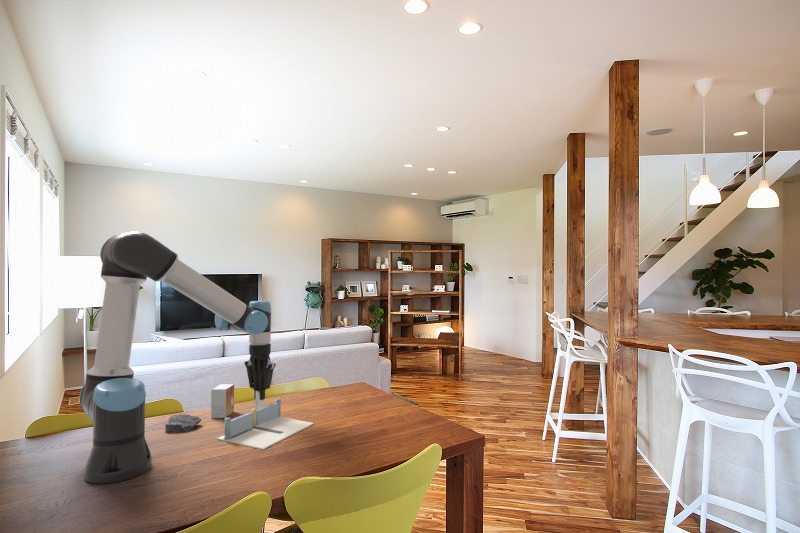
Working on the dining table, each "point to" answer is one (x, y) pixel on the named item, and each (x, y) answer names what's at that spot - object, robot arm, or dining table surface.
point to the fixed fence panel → (237, 425)
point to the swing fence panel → (266, 413)
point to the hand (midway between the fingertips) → (259, 408)
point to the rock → (181, 423)
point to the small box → (222, 401)
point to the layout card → (268, 433)
